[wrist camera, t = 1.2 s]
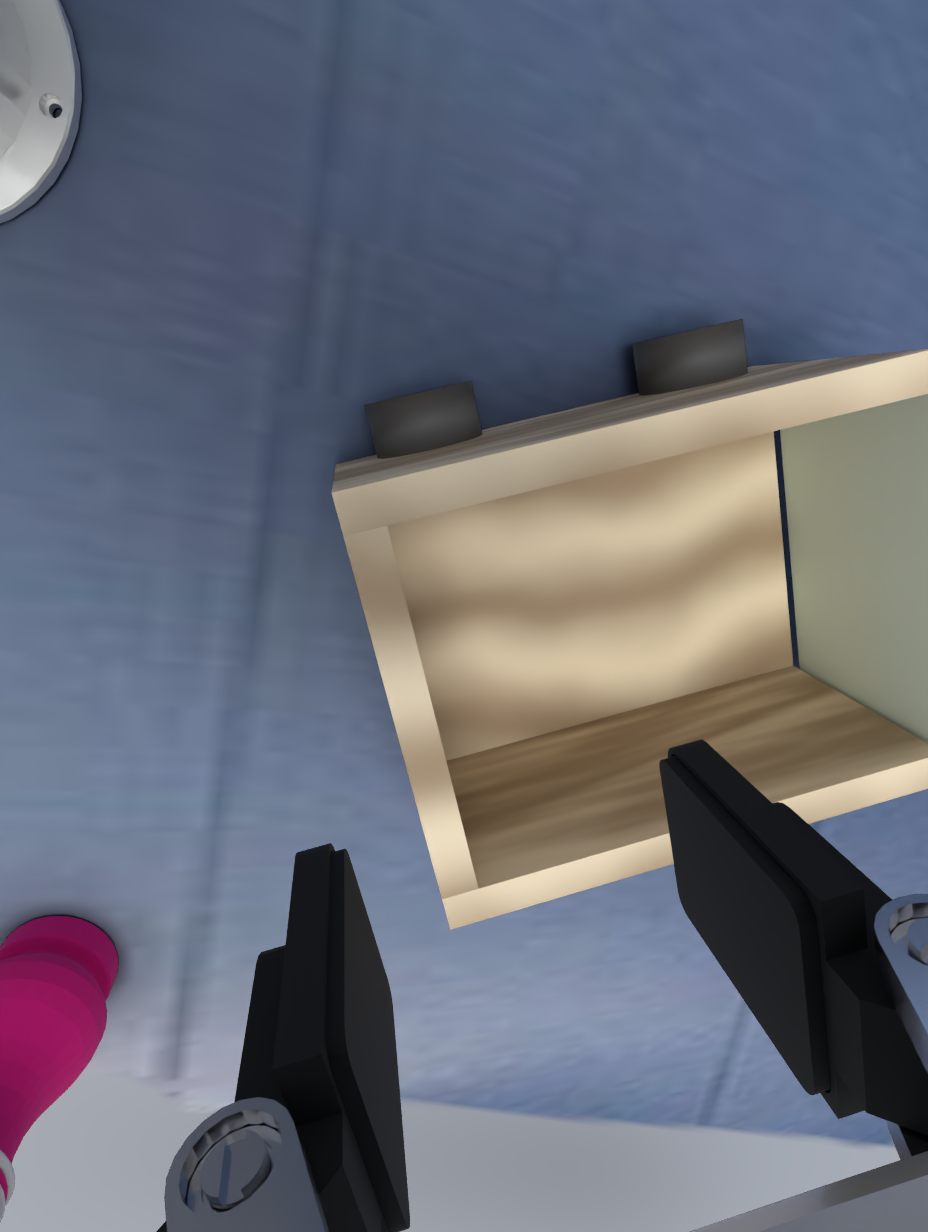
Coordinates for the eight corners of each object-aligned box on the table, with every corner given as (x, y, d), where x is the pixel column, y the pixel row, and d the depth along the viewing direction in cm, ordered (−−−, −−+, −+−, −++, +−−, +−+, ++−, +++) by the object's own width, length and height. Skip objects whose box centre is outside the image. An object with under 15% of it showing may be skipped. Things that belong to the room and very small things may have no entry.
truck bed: (322, 414, 35) (311, 419, 23) (747, 317, 37) (936, 276, 25) (429, 815, 42) (463, 976, 30) (783, 716, 44) (945, 830, 32)
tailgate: (774, 367, 36) (956, 350, 26) (808, 359, 37) (1003, 339, 26) (800, 685, 42) (960, 783, 31) (830, 677, 42) (999, 772, 31)
